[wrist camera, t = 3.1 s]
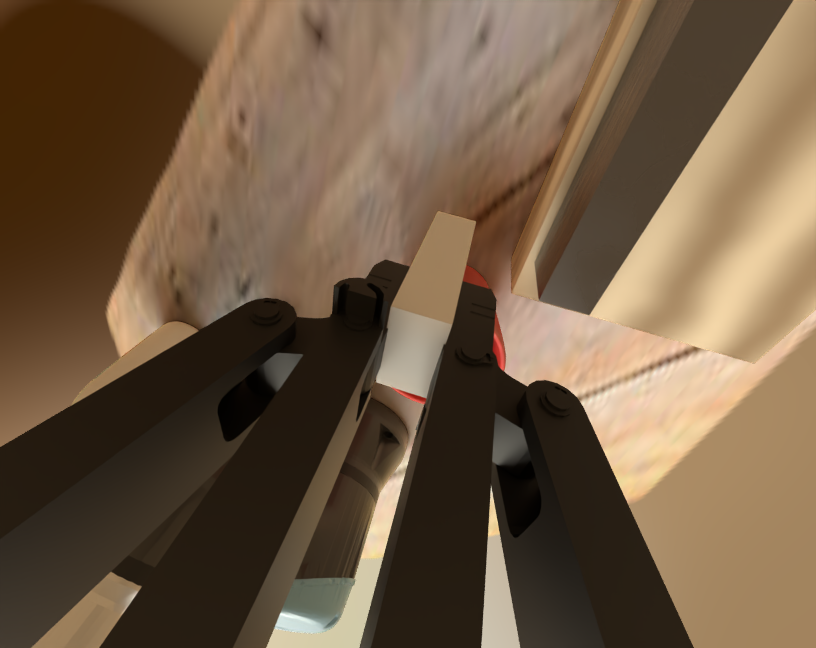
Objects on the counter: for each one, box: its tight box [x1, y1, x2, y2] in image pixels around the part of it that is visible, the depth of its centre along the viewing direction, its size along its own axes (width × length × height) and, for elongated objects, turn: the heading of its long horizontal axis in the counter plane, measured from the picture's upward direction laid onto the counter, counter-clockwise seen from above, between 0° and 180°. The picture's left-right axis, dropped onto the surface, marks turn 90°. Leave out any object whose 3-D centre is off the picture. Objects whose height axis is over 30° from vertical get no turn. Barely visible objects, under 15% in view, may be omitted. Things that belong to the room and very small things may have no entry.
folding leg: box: [534, 0, 793, 315], centre depth 17 cm, size 18×4×5 cm, turn 170°
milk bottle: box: [72, 321, 199, 405], centre depth 41 cm, size 8×8×20 cm
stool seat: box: [511, 0, 816, 363], centre depth 22 cm, size 18×23×6 cm
